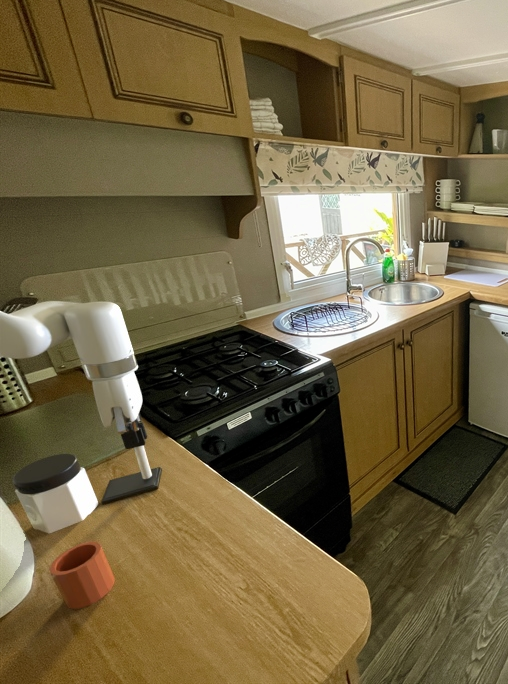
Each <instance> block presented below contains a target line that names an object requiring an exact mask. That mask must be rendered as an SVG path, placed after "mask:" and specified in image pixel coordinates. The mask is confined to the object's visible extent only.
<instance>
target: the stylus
mask: <svg viewBox="0 0 508 684" xmlns="http://www.w3.org/2000/svg"><path fill="white" fill-rule="evenodd" d="M130 423H131V424H132V422H129V423H127V424H130ZM133 451H134V453H135V458H136V462H137V464H138V467H139V472H141V474H142V478H143V479H149V478H150V477H151V476H152V473H151V470H150V469H151V467H150V463H149V460H148V456H147V453H146V448H145V445H143V446H139V447H135V448H133Z"/></svg>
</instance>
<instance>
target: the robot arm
mask: <svg viewBox="0 0 508 684" xmlns="http://www.w3.org/2000/svg"><path fill="white" fill-rule="evenodd" d="M70 340H72V342H73V344H74V345H73V346H74V347H75V350H76V353H77V356H78V359H79V361H80V363H81V366H82V369H83V372H84V374H85V377H86V379H87V380H89V381H92V382H91V384H92V390H93V395H94V400H95V403H96V407H97V411H98V414H99V417H100V420H101V425H102V427H104V428H106V429H107V428H109V427H111V426H112V424H113V422H114V421H115V425H116V431H117V434H120V437H121V440H122V443H123V446H124V449H125V450H131V449H134V448H135V447H139V446H143V445H144V446H145V445H146V443H147V442H146V440H147V439H148V434H147V430H146V427H145V424H144V422H143V419H142V415H141V412H140V411H141V408H142V405H143V395H142V390H141V388H140V384H139V381H138V378H137V376H136V374H135V371H137V370H138V368H139V365H138V361H137V358H136V355H135V351H134V349H133V346H132V342H131V339H130V335H129V332H128V328H127V326H126V322H125V319H124V316H123V312H122V310H121V308H120V306H119V305H117V304H116V303H114V302H113V301H112V302H111V301H90V302H89V301H88V302H72V301H61V300H60V301H59V300H47V301H42V302H38V303H35V304H32V305H30V306H27V307H24V308H21V309H18V310H15V311H12V312H10V313H6V312H4V311H1V310H0V357H2V358H7V359H17V360H20V359H21V360H22V359H30V358H34V357H37V356H39V355H41V354H43V353H45V352H47V351H49V350H50V349H52V348H54V347H56V346H57V345H59V344H62V343H65V342H67V341H70ZM129 422H132V424H131V423H130V424H127V423H129Z"/></svg>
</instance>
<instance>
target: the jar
mask: <svg viewBox="0 0 508 684" xmlns="http://www.w3.org/2000/svg"><path fill="white" fill-rule="evenodd" d="M12 481H13V486H14V487H15V490H14V493H15V495H16V497H17V498H18V500H19V503H20V504H21V506H22V508H23V510H24V512H25V514H26V516H27V519H28V521H29V523H30V524H31V526H32V528H33V529H34V530H38V531H40V532H42V533H46V534H48V535H49V534H52V533H55V532H57V531H60V530H62V529H65V528H67V527H70V526H72V525H76V524H79V523H81V522H83V521H84V520H85V519H86V518H87V517H88V515H91V514H92V513H93V511H95V509H96V508H97V507H98V506H99V505H100V503H99V501H98V499H97V495H96V494H95V491H94V489H93V486H92V484H91V481H90V479H89V476H88V473H87V471H86V468H84V467H81V465H80V463H79V460H78V458H77V456H76V455H75V454H72V453H61V454H60V453H59V454H54V455H49V456H46V457H43V458H41V459H38V460H35V461H33V462H31V463H28V464H27V465H25V466H24V467H22V468H20V469H19V470H18V471H17V472H15V474H14V475H13V478H12Z"/></svg>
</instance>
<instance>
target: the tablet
mask: <svg viewBox="0 0 508 684" xmlns="http://www.w3.org/2000/svg"><path fill="white" fill-rule="evenodd" d="M150 470H151V473H152V476H151V477H150V478H149V479H143V478H142V474H141V471H139V472H135V473H132V474H127V475H124V476H123V475H122V476H119V477H116V478H112V479H109V481H108V483H107V486H106V488H105V491H104V493H103V497H102V499H101V504H102V505H103V506H104V505H108V504H111V503H114V502H117V501H118V502H119V501H120V500H121V501H122V500H125V499H128V498H131V497H135V496H139V495H141V494H142V495H143V494H145V493H149V492H153V491H156V490H158V489H159V487H160V481H161V477H162V472H163V468H162V466H158V467H154V468H150Z"/></svg>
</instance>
